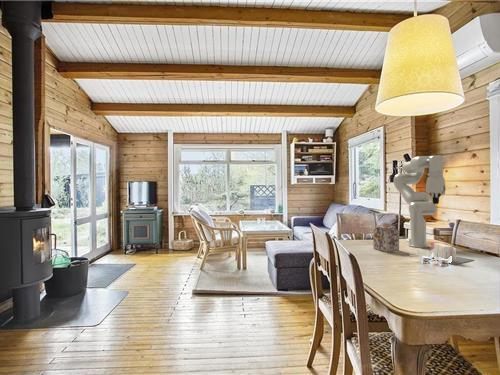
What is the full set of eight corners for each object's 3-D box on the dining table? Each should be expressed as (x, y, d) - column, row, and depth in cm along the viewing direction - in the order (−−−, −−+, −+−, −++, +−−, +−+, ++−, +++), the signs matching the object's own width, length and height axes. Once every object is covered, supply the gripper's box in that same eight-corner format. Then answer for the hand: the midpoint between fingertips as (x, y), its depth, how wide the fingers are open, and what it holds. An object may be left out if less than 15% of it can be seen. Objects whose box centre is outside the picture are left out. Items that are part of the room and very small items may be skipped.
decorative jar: (385, 247, 204) (385, 221, 204) (399, 250, 194) (399, 223, 194) (372, 249, 199) (372, 222, 199) (386, 252, 189) (386, 224, 189)
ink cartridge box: (430, 242, 173) (447, 247, 159) (438, 242, 174) (456, 247, 159) (430, 256, 173) (447, 263, 159) (438, 256, 173) (456, 263, 159)
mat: (428, 259, 168) (428, 258, 168) (447, 255, 178) (447, 254, 178) (454, 265, 156) (454, 264, 156) (474, 260, 165) (474, 259, 165)
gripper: (420, 175, 190) (420, 203, 190) (444, 174, 176) (444, 204, 177) (427, 175, 193) (427, 202, 194) (451, 174, 180) (451, 204, 180)
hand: (435, 203), depth 185 cm, fingers closed
